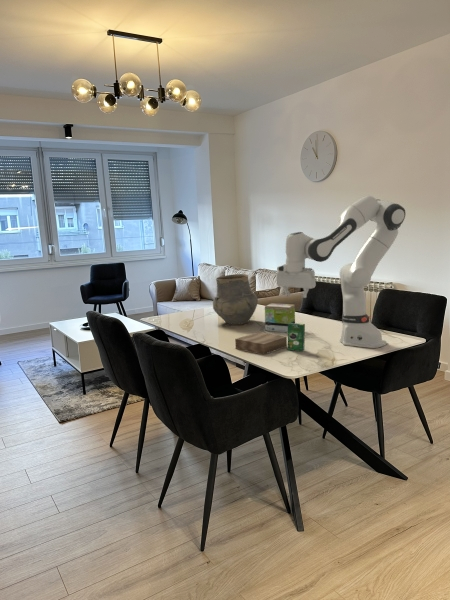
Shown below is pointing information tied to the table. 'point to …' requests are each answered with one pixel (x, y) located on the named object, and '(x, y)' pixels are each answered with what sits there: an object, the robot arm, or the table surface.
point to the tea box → (279, 317)
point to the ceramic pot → (234, 299)
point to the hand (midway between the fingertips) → (295, 296)
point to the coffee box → (296, 337)
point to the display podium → (261, 342)
